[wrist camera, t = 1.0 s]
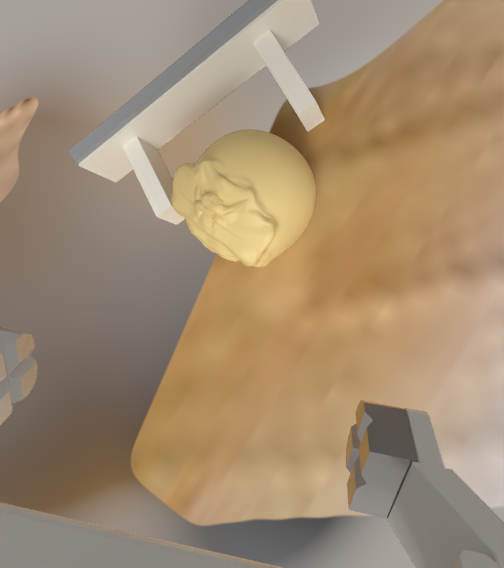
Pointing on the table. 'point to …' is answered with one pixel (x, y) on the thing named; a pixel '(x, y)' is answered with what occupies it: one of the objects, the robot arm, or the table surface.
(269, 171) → the sculpture
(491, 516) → the robot arm
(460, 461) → the table surface
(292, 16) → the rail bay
